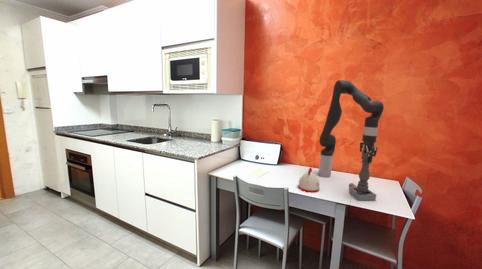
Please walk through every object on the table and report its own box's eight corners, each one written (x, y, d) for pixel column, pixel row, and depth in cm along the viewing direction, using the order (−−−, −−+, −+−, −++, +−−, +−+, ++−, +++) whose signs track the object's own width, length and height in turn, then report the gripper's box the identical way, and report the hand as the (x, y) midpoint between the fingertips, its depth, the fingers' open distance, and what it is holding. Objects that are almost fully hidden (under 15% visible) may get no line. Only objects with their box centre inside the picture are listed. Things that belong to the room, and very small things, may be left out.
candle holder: (369, 192, 139) (375, 153, 134) (360, 192, 139) (365, 153, 134) (364, 188, 145) (369, 151, 140) (354, 188, 145) (359, 150, 140)
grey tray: (343, 189, 155) (344, 182, 154) (358, 189, 155) (359, 182, 154) (358, 201, 137) (359, 194, 136) (375, 201, 138) (376, 194, 137)
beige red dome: (296, 189, 151) (297, 168, 148) (300, 182, 163) (302, 163, 160) (317, 194, 145) (319, 172, 142) (320, 187, 157) (322, 166, 154)
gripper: (383, 136, 128) (379, 164, 132) (368, 132, 143) (365, 157, 146) (371, 136, 128) (367, 164, 131) (357, 132, 142) (354, 157, 145)
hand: (366, 160), depth 138 cm, fingers closed on candle holder, 5 cm apart
